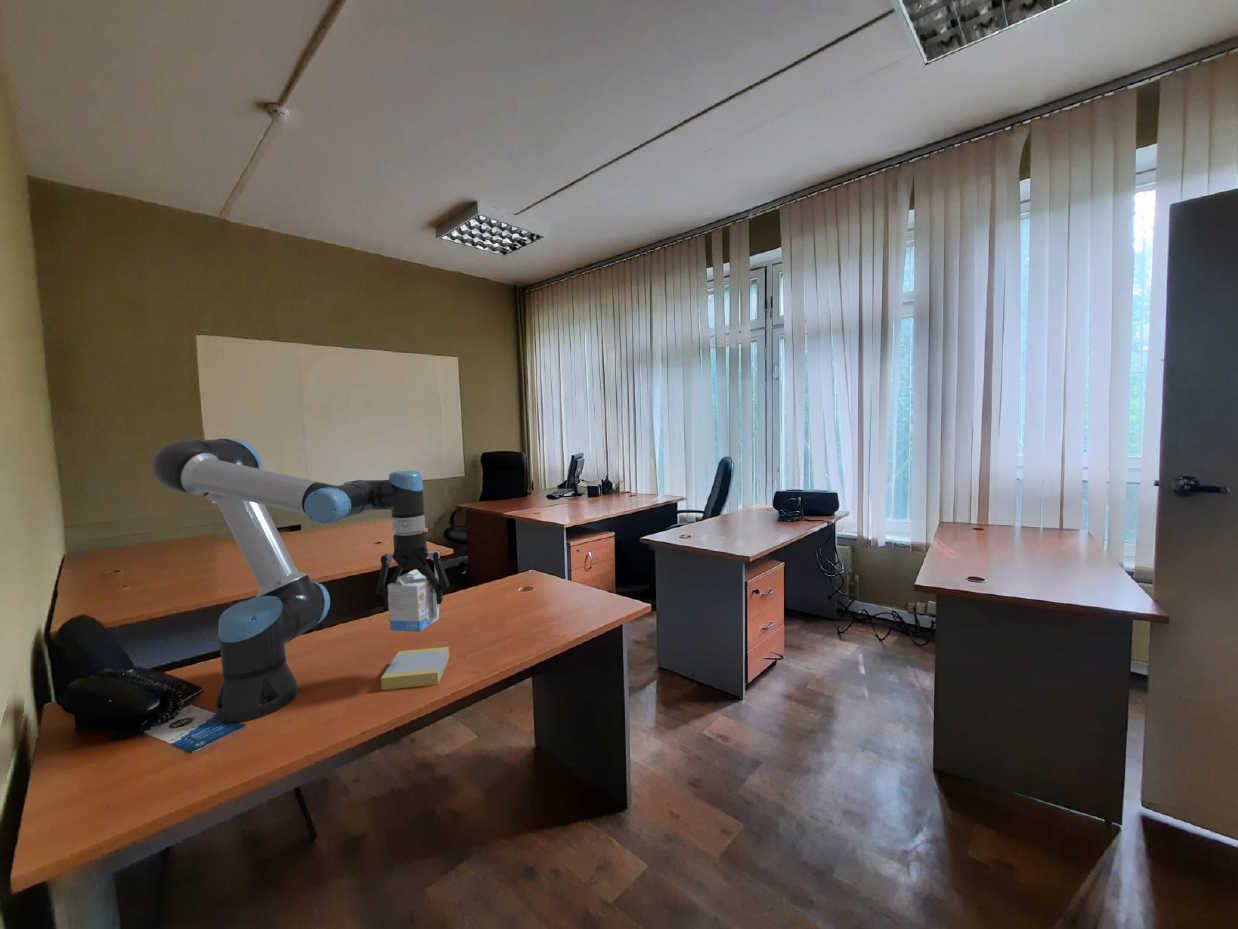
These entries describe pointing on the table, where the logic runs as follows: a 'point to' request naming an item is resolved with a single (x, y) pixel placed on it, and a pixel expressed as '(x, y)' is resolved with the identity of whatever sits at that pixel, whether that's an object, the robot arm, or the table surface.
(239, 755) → the table surface
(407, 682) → the dock
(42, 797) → the table surface
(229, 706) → the robot arm
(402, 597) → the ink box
